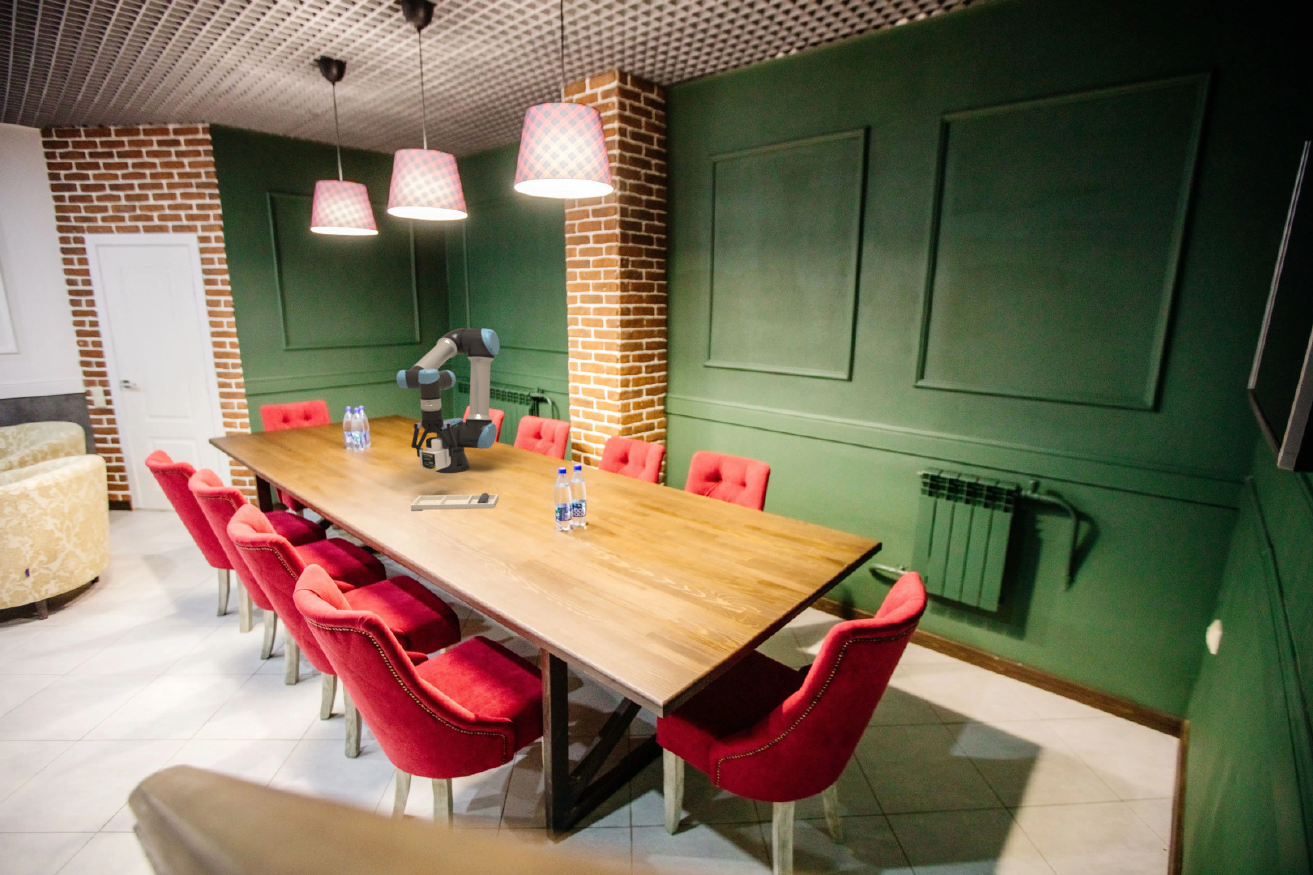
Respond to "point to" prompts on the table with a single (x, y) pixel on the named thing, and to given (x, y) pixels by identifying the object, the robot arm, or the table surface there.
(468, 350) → the robot arm
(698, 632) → the table surface
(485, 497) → the grey cylinder
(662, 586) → the table surface
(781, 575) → the table surface
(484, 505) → the organiser
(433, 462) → the medicine bottle
